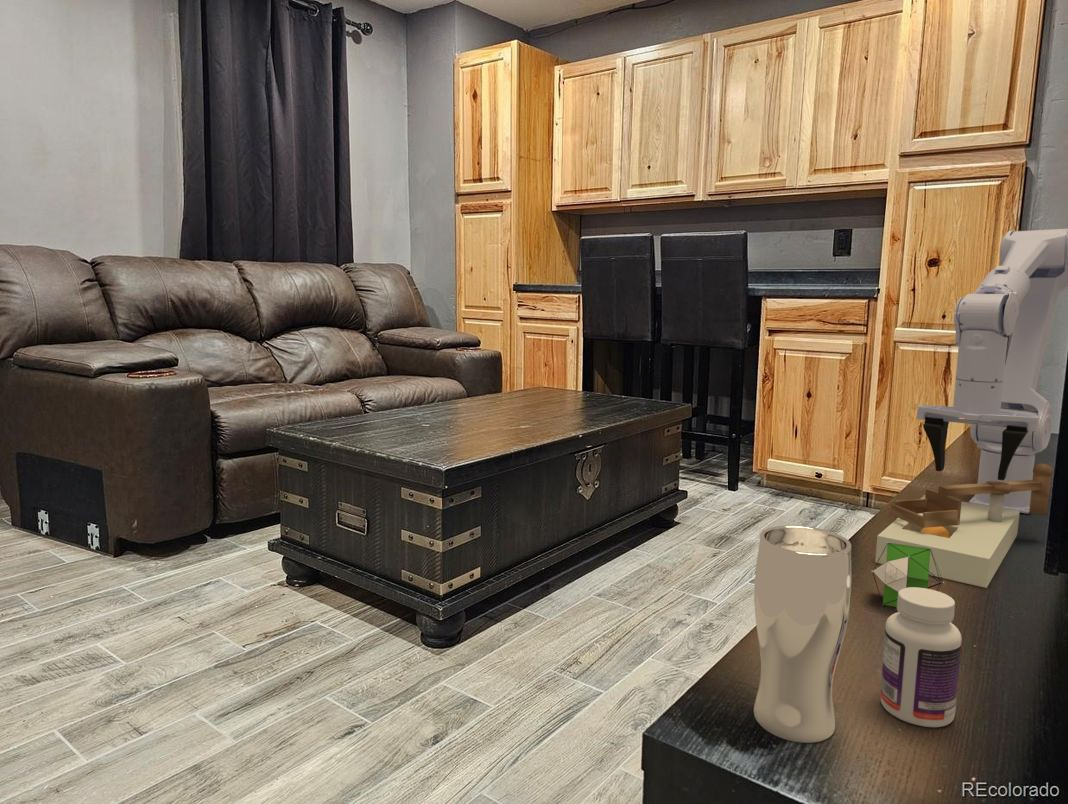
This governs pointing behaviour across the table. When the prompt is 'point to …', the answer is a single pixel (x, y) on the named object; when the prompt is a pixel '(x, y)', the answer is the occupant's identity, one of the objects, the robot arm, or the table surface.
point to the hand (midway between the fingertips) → (969, 474)
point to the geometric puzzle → (904, 571)
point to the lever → (947, 509)
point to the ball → (936, 531)
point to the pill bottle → (921, 659)
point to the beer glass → (800, 628)
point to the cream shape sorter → (961, 542)
